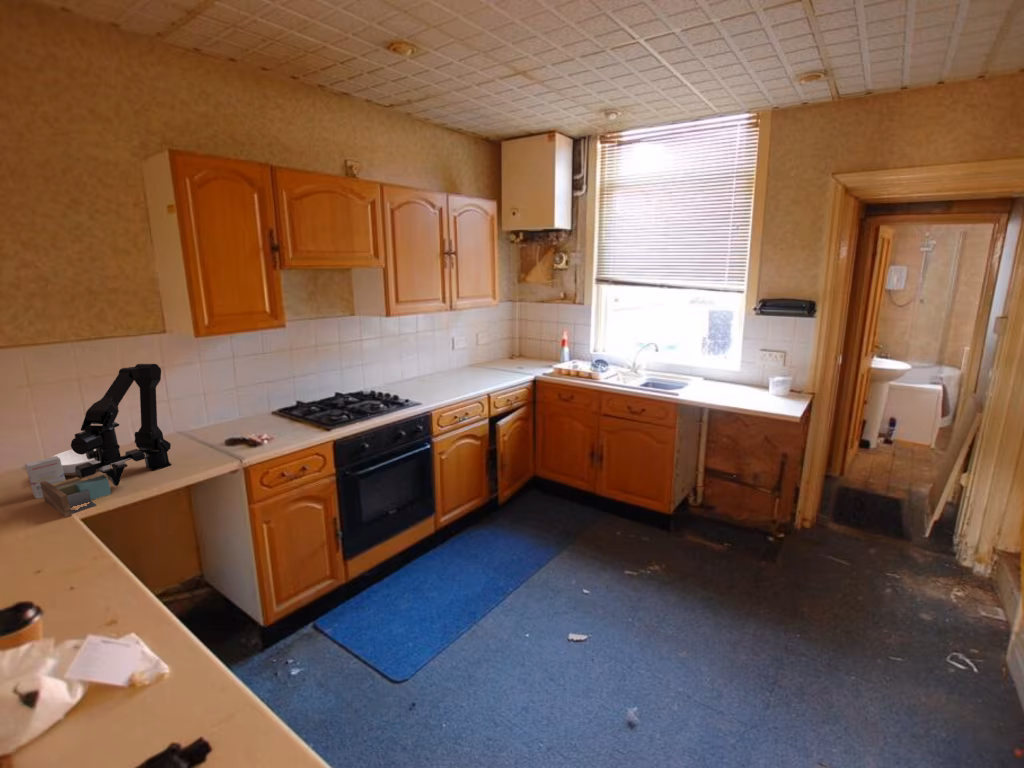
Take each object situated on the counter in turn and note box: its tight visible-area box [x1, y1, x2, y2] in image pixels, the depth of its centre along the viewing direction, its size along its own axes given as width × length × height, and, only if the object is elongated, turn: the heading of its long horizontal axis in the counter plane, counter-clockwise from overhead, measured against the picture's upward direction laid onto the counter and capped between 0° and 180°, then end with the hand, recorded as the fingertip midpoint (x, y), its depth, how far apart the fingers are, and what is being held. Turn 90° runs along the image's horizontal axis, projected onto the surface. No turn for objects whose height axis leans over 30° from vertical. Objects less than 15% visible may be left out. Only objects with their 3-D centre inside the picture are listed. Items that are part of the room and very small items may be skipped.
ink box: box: [24, 455, 66, 500], centre depth 182 cm, size 9×5×12 cm, turn 141°
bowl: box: [51, 449, 100, 477], centre depth 201 cm, size 20×20×6 cm
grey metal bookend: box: [67, 489, 97, 515], centre depth 172 cm, size 7×5×4 cm, turn 145°
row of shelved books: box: [51, 476, 82, 496], centre depth 178 cm, size 8×6×6 cm
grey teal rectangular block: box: [75, 474, 112, 501], centre depth 179 cm, size 8×4×6 cm, turn 146°
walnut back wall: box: [40, 481, 73, 518], centre depth 171 cm, size 2×19×7 cm, turn 55°
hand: (116, 485), depth 184 cm, fingers closed
